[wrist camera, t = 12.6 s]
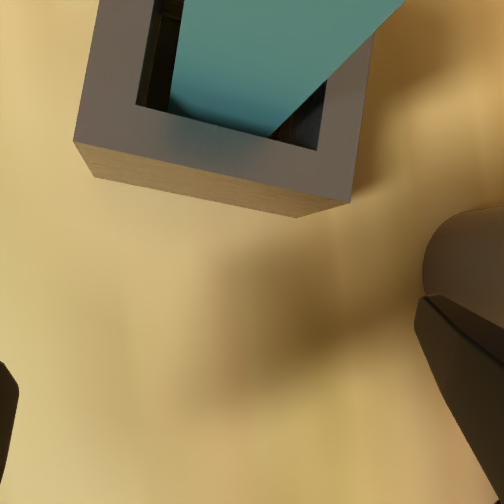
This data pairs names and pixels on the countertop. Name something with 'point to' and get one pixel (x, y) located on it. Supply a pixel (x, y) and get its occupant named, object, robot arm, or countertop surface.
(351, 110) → the block
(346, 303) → the countertop surface
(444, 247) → the round bit
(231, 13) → the square bit
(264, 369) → the countertop surface
